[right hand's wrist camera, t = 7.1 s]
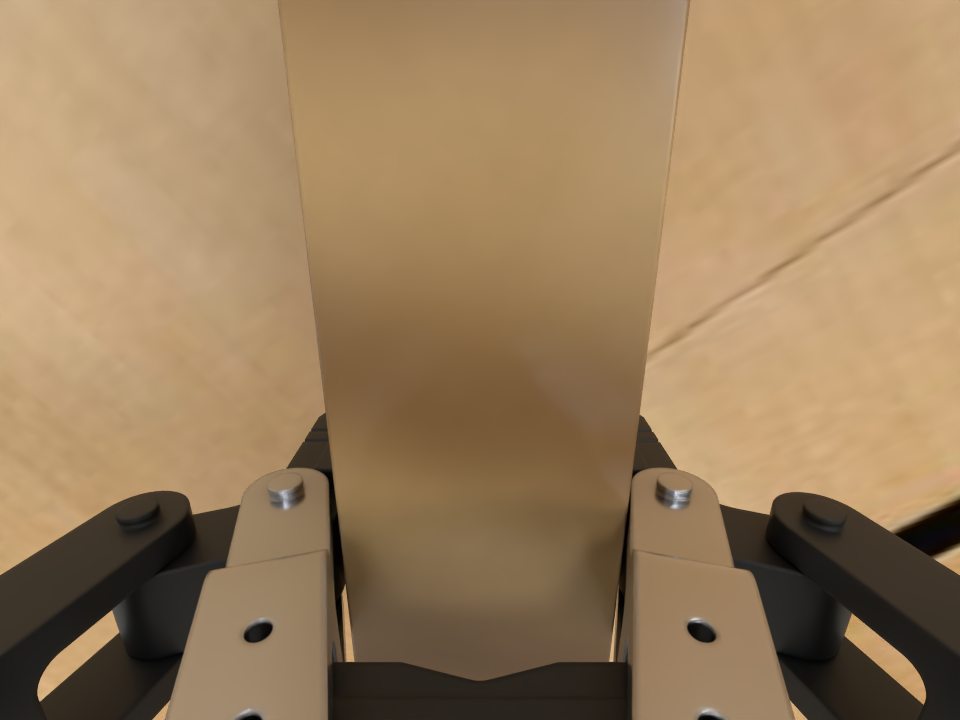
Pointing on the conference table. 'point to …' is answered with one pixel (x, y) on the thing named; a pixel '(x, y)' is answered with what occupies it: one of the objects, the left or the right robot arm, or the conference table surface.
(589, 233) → the beam
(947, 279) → the conference table surface
